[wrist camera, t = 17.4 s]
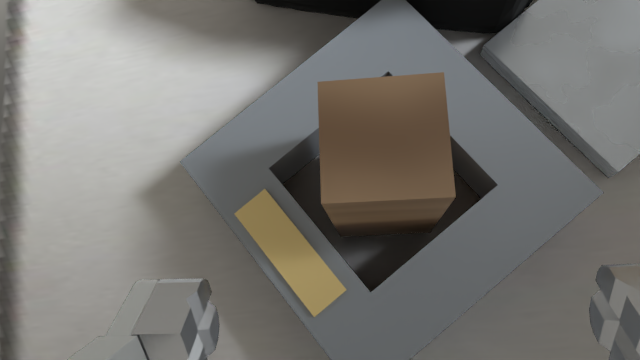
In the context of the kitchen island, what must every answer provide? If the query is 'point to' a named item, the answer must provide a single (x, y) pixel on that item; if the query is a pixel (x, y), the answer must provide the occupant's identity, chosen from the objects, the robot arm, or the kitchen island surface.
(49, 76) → the kitchen island surface
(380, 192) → the walnut peg
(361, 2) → the film camera
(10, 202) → the kitchen island surface
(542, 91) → the pad
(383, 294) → the hole plate
